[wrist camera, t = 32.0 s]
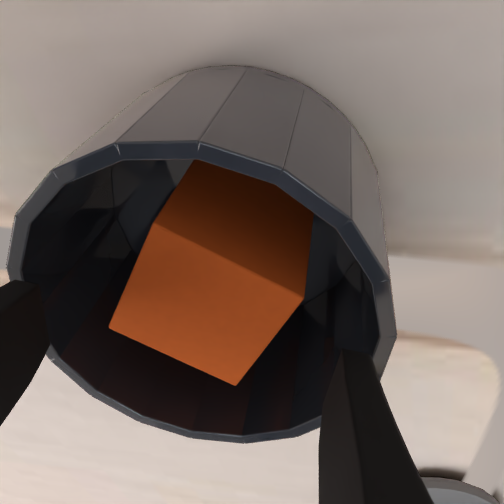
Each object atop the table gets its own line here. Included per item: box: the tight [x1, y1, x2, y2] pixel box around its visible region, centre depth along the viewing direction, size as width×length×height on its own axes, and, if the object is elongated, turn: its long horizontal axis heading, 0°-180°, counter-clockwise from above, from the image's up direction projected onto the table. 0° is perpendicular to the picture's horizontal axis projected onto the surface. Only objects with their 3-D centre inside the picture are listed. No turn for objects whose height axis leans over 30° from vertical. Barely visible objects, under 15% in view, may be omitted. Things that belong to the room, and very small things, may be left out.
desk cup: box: [6, 65, 397, 444], centre depth 14 cm, size 10×10×6 cm
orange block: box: [109, 160, 314, 386], centre depth 14 cm, size 4×4×5 cm
